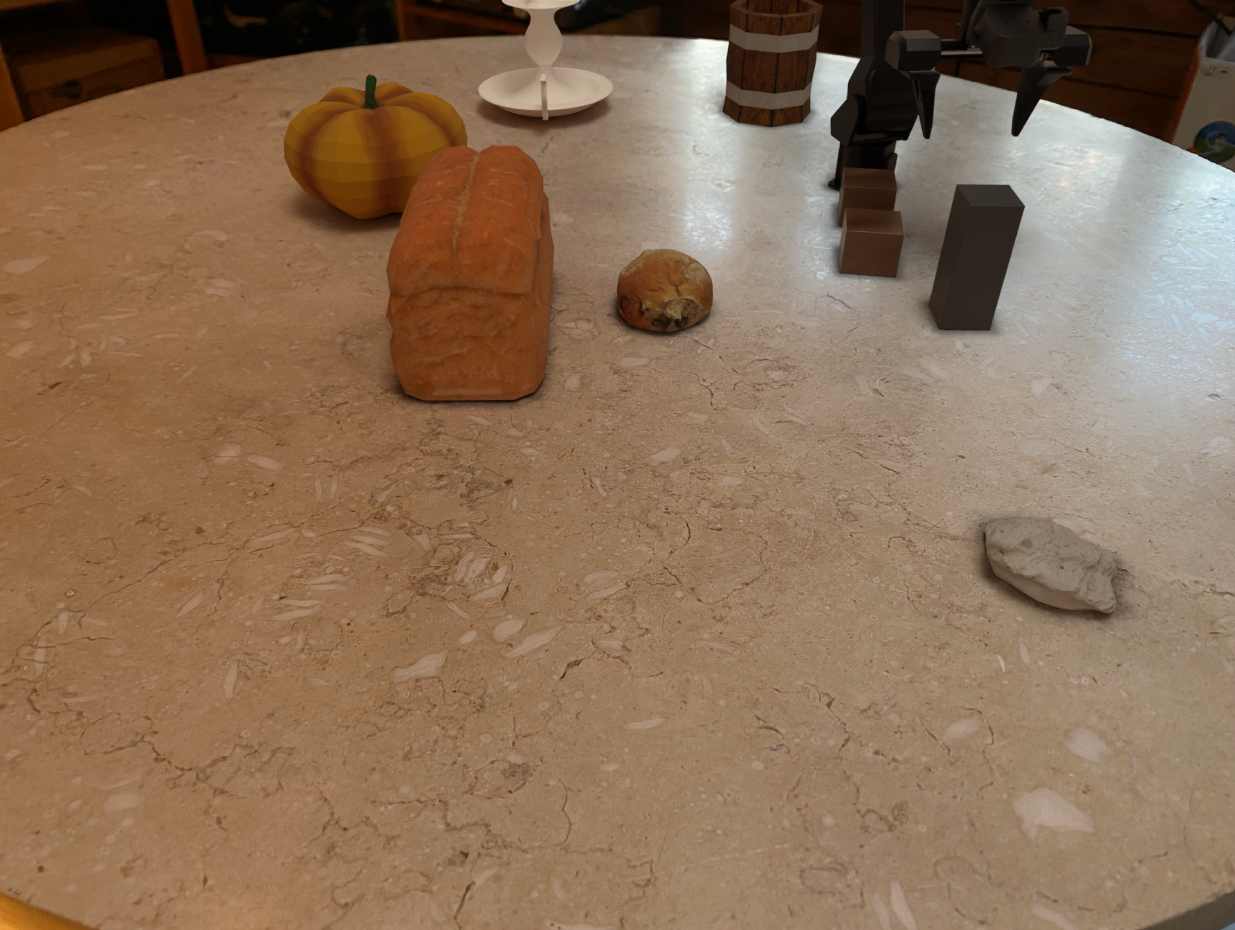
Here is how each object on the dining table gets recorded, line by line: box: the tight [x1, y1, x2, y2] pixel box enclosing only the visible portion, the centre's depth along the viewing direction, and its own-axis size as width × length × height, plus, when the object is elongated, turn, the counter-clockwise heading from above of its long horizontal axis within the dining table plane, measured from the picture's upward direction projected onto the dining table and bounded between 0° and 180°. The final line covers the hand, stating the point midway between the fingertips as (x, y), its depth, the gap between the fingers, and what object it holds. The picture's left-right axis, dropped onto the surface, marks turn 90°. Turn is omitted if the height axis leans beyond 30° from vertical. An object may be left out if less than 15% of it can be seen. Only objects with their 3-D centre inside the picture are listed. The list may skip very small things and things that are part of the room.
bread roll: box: [616, 248, 714, 333], centre depth 95 cm, size 10×10×8 cm
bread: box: [385, 144, 555, 401], centre depth 89 cm, size 14×27×15 cm, turn 1°
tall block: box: [928, 183, 1026, 331], centre depth 91 cm, size 5×5×13 cm
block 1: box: [837, 167, 898, 228], centre depth 112 cm, size 6×6×5 cm
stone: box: [983, 517, 1118, 614], centre depth 66 cm, size 10×5×10 cm
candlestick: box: [477, 0, 614, 121], centre depth 135 cm, size 21×25×28 cm
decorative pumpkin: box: [283, 74, 468, 220], centre depth 114 cm, size 20×22×15 cm
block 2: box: [838, 208, 905, 278], centre depth 103 cm, size 6×6×5 cm
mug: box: [722, 0, 824, 128], centre depth 142 cm, size 20×14×15 cm
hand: (970, 137), depth 98 cm, fingers open, 9 cm apart
